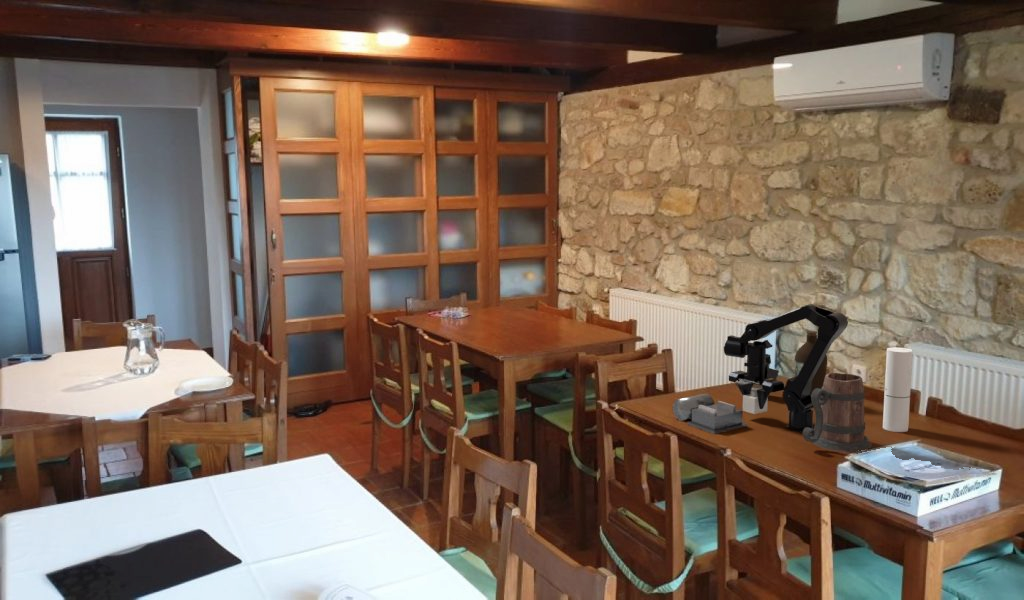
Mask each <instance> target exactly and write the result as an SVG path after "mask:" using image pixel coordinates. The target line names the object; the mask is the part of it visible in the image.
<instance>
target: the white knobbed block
mask: <svg viewBox="0 0 1024 600" xmlns="http://www.w3.org/2000/svg"><path fill="white" fill-rule="evenodd" d="M768 400H769V397H768V398H767V400H766V402H765V405H764V407H763V409H760V407H759V402H758V395H757V390H751V394H748V395H742V412H746V413H750V414H752V415H756V414H760V413H764V412H768V403H769V401H768Z"/></svg>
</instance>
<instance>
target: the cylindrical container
mask: <svg viewBox="0 0 1024 600" xmlns="http://www.w3.org/2000/svg"><path fill="white" fill-rule="evenodd" d="M913 354H914V353H913V350H912V349H911V348H906V347H900V346H899V347H894V346H892V347H887V348H886V355H885V358H886V359H885V360H886V361H885V378H884V396H883V398H884V399H883V415H882V416H883V417H882V429H883V430H885V431H888V432H889V431H890V432H894V433H905V432H908V430H909V421H910V407H911V405H910V401H911V387H912V384H911V383H912V369H913V368H912V367H913Z"/></svg>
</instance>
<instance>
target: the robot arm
mask: <svg viewBox="0 0 1024 600" xmlns="http://www.w3.org/2000/svg"><path fill="white" fill-rule="evenodd" d="M803 320H807V321H808V322H810V323H811V324H812V325H813V326H816V327H818V328H817V334H816V335H817V340H816V342H815V344H814V345H813V347H812V349H811V351H810V353H809V355H808V357H807V359H806V361H805V363H804V364H803V366H802V368H801V370H800V372H799V374H798V376H795V375H794V376H793V377H791V378H788V379H787V381H785V382H786V383H785V384H784V382H783V381H781V380H779V379H778V375H779V371H780V370H777V369H774V368H771V367H769V364H768V363H765V362H766V354H767V349H770V348H773V344H772V343H771V342H770V341H769V339H765V338H766V337H769V336H770V335H771V334H774V333H775V332H776V331H778V329H779V330H780V329H781V328H784V327H787V326H790V325H791V324H795V323H798V322H801V321H803ZM848 325H849V321H848V318H847V317H846V315H845V314H843V313H842V312H834V311H832V310H829V309H825V308H822V307H820V306H817V305H814V303H809V304H808V303H807V304H805V305H802V306H800V308H799V307H798V308H796V309H794V310H791V311H789V312H786V313H782V314H781V315H778V316H776V317H773V318H767V319H762V320H761V319H760V320H757V321H753V322H750V323H748V324H747V325H745V328H744V332H743V333H742V335H741V336H735V335H732V334H731V335H729V336H727V340H725V343H724V346H723V353H724V355H725V356H727V357H733V358H740V359H744V358H745V357H746V362H744V364H743V366H744V367H746V371H745V370H744V371H743V370H736V371H731V372H730V373H729V374H728V381H729V382H730V383H731V382H732V383H735V386H737V388H738V389H739V391H740V393H741V394H742V396H743V395H748V394H751V390H752V387H753V385H754V384H757V385H761V386H762V387H761V389H758V390H757V395H758V402H759V407H760V409H763V407H764V405H765V402H766V400H767V398H768V399H769V396H770V394H771V393H777V392H781V391H782V398H783V400H784V402H785V403H786V404H785V405H786V407H787V411H789V412H788V424H787V425H786V426H785V427H786V429H790V430H793V431H795V432H799V433H803V430H804V429H805V428H807V427H809V428H812V429H814V427H815V426H814V425H813V423H814V422H813V421H814V411H813V410H812V409H814V407H813V404H812V401H811V395H810V391H811V386H812V379H813V378H814V376H815V374H816V372H817V370H818V368H819V366H820V365H821V363H822V361H823V359H824V357H825V355H827V353H828V352H829V350H830V348H831V346H832V344H833V343H834V342H835V341H836V340H837V339H838V338H839V337H840V336H841V335H842V334H843V333H844V331H845V330H846V329H847V327H848ZM761 339H765V340H763V341H760V340H761ZM751 341H752V342H751ZM765 379H768V381H765Z"/></svg>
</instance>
